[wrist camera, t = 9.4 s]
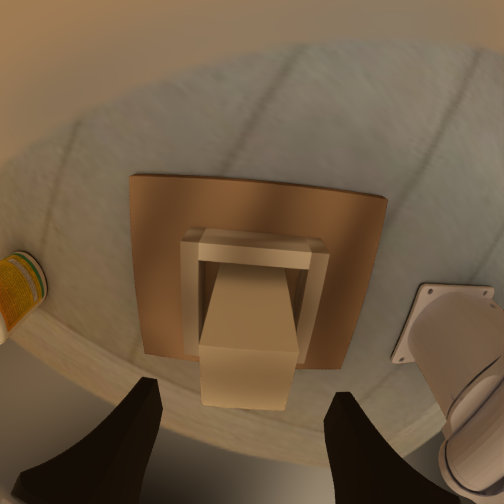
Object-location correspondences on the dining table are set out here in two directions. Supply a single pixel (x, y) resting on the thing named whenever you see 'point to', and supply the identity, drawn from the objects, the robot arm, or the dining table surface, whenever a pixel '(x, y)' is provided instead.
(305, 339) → the socket board
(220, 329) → the peg
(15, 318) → the supplement bottle
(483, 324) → the robot arm
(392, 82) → the dining table surface
